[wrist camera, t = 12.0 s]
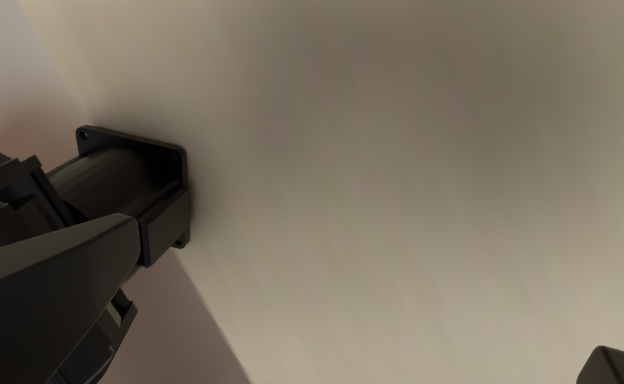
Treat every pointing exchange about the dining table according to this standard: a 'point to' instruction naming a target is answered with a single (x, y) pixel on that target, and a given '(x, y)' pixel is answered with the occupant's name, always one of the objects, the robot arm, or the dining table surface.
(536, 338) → the dining table surface
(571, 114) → the dining table surface
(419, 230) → the dining table surface
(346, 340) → the dining table surface
